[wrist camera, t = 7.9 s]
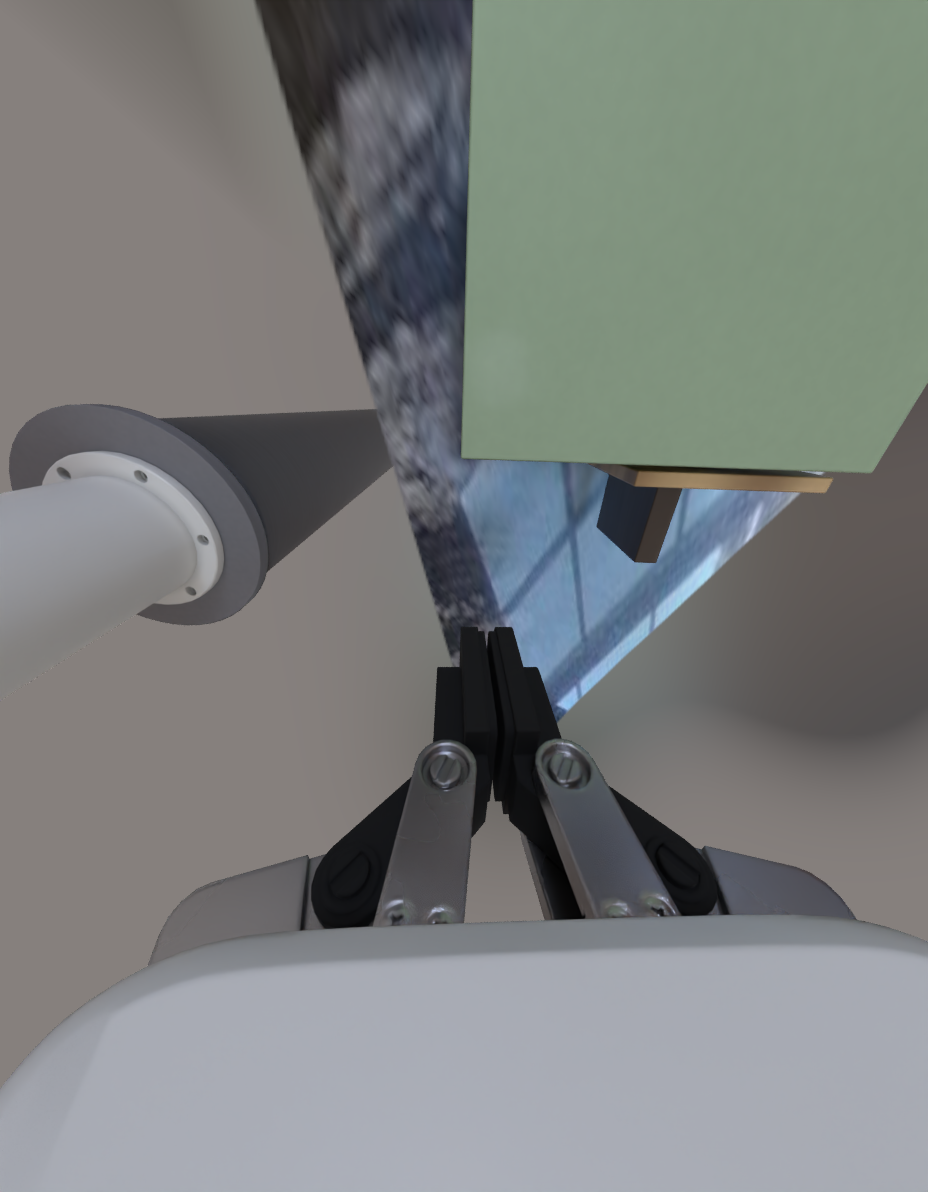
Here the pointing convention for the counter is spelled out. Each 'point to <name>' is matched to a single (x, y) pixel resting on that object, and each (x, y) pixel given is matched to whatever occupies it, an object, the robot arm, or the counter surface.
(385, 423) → the counter surface
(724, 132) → the cupboard
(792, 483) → the sliding door
